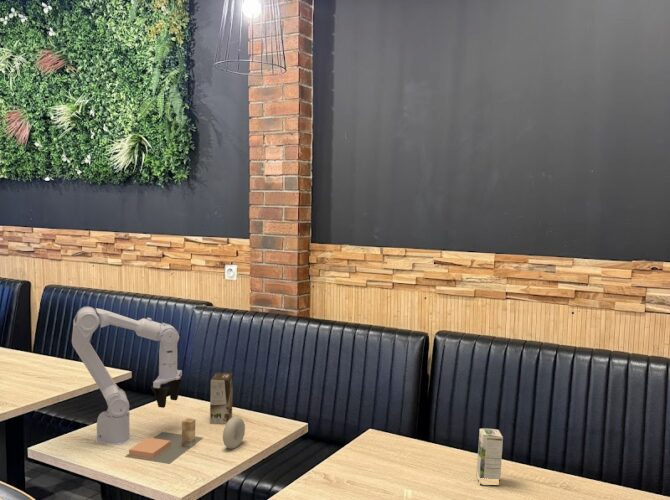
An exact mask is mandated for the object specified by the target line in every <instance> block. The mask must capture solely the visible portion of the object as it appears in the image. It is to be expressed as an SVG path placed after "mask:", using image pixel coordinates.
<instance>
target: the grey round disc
mask: <svg viewBox="0 0 670 500" xmlns="http://www.w3.org/2000/svg"><path fill="white" fill-rule="evenodd" d="M245 433H246V424H245V421H244V420H243V418H242V417H240V416H237V415H236V416H232V418H231V419H230V420H228V422H227V423H226V424H224V428H223V433H222V442H223V445H224V446H225V447H226V448H227V449H229V450H234V449H236V448H238V447H239V446H240V445H241V443H242V441H243V439H244V436H245Z"/></svg>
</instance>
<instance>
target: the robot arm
mask: <svg viewBox="0 0 670 500" xmlns="http://www.w3.org/2000/svg"><path fill="white" fill-rule="evenodd" d="M72 325H73V326H72V333H71V345H72V347H73V349H74V350H75V352H76V354H77V355H78V356H79V358H80V360H81V362H82V363H83V364H84V366H85V368H86V370H87V371H88V373H89V374H90V376H91V377H92V379H93V381H94V382H95V383H96V385H97V387H98V389H99V390H100V392H101V394H102V396H103V398H104V399H105V402H106V404H107V409H106V411H102V412H100V413H99V415H98V417H97V419H96V420H97V421H96V440H94V442H95V443H96V442H97V443H103V444H109V445H116V446H122V445H124V444H125V443H127V442H129V441H130V440H132V439H134V438H136V435H130V403H129V400H128V397H127V393H126V391H124V390H123V389H122V388H120V387H119V386H118V385H117V384H116V382H115V381H114V379H113V378H112V376H111V374H110V373H109V371H108V370H107V368H106V366H105V364H104V363H103V361H102V360H101V358H100V357H99V355H98V354H97V352H96V350H95V349H94V346H93V345H92V344H91V342H90V341H91V338H92V335H93V333H94V332H95V331H96V330H97V329H98V327H99V326H100V328H104V327H107V326H110V325H111V326H115V327H118V328H123V329H127V330H129V331H130V330H132V331H134V332H135V335H137V336H138V337H141V338H145V339H148V340H152V341H155V342H159V349H158V350H159V351H158V353H159V354H158V355H159V356H158V359H159V360H158V375H157V377H156V379H155V380H154V381H153V382H152V383H153V385H150V388H151V391H152V393H153V394H154V397H155V400H156V402H157V407H158V408H162V409H165V408H166V405H167V398H168V397H167V396H168V393H169V398H170V400H171V401H177V400H178V399H179V393H180V392H181V387H182V385H183V384H184V382H185V378H184V377H182V376H183V370H181V369H178V342H179V339H180V336H179V332H178V330H177V329H176V328H175V327H174V326H172V325H171V324H169V323H165V322H161V323H160V322H157V321H154V320H153V319H152V318H151V317H146V318H144V317H143V318H141V319H138V320H136V319H133V318H130V317H127V316H124V315H121V314H119V313H115V312H112V311H109V310H105V309H103V308H97V307H96V308H94V307H92V306H83V307H81V308H80V309H78V311H77V312H76V314H75V317H74V318H73V323H72ZM165 384H167V385H168V386H166V385H165Z"/></svg>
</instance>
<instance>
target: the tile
mask: <svg viewBox="0 0 670 500" xmlns="http://www.w3.org/2000/svg"><path fill="white" fill-rule="evenodd" d="M170 447H171V441H169V440H162V439H155V438H154V437H146V438H145V439H143V440H141V441H140V442H139V443H137V444H136V445H134V446H133V447H130V448H129V450H128V454H129V456H132V457H138V458H144V459H151V460H153V459H155V458H156V457H157V456H159V455H160V454H162V453H163V452H164V451H166V450H167V449H169V448H170Z"/></svg>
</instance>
